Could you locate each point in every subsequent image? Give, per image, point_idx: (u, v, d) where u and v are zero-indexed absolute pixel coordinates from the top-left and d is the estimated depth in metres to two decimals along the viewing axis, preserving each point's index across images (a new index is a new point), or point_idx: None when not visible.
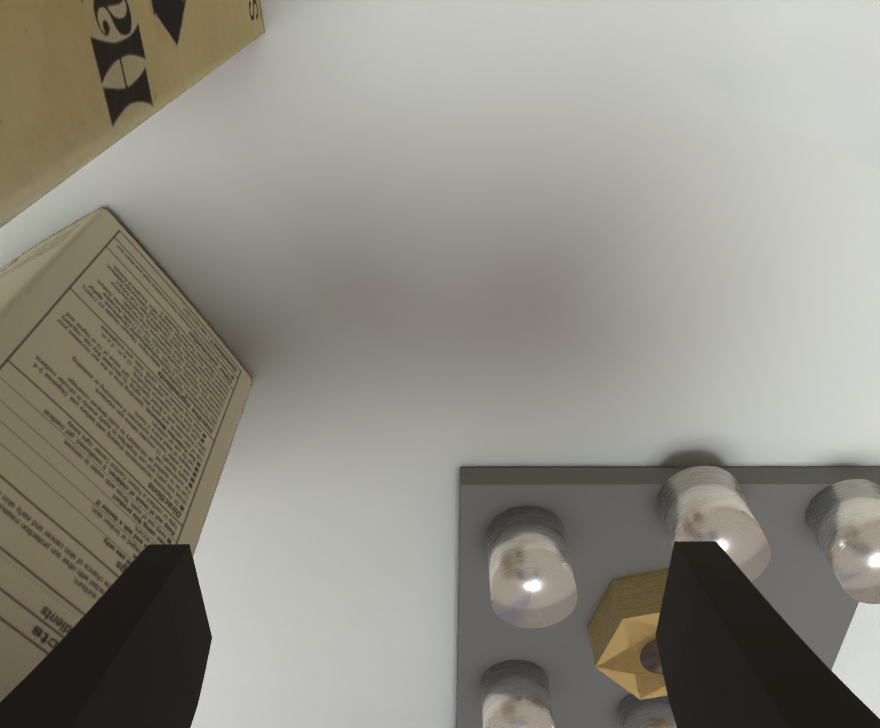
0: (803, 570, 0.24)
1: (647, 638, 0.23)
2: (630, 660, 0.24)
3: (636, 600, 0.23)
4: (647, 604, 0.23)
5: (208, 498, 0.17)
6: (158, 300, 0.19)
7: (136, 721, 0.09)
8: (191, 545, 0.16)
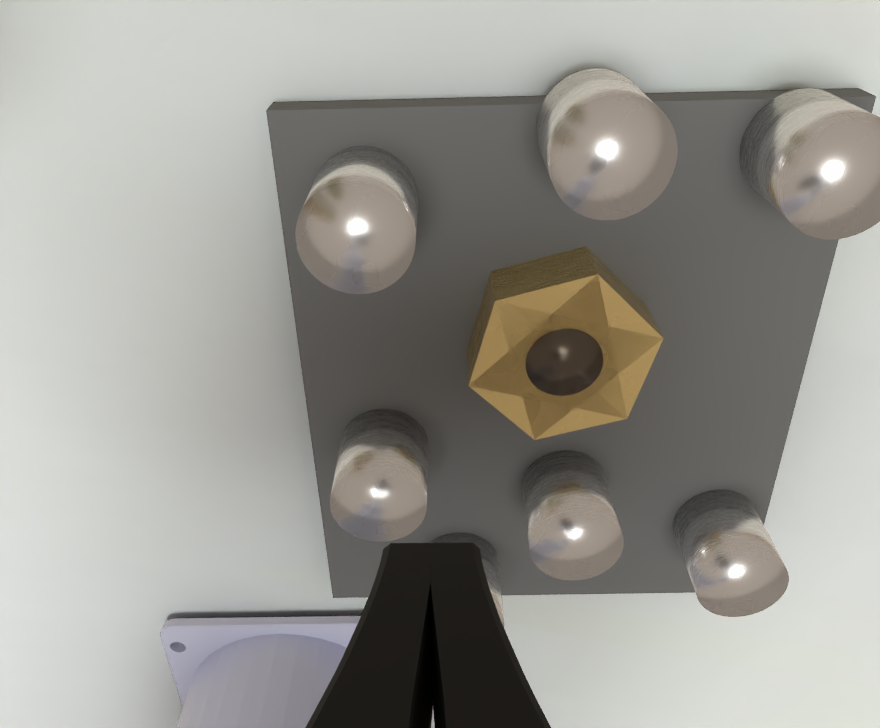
0: (744, 252, 0.18)
1: (532, 334, 0.17)
2: (513, 372, 0.18)
3: (516, 283, 0.17)
4: (529, 284, 0.17)
5: None
6: None
7: (420, 719, 0.09)
8: None
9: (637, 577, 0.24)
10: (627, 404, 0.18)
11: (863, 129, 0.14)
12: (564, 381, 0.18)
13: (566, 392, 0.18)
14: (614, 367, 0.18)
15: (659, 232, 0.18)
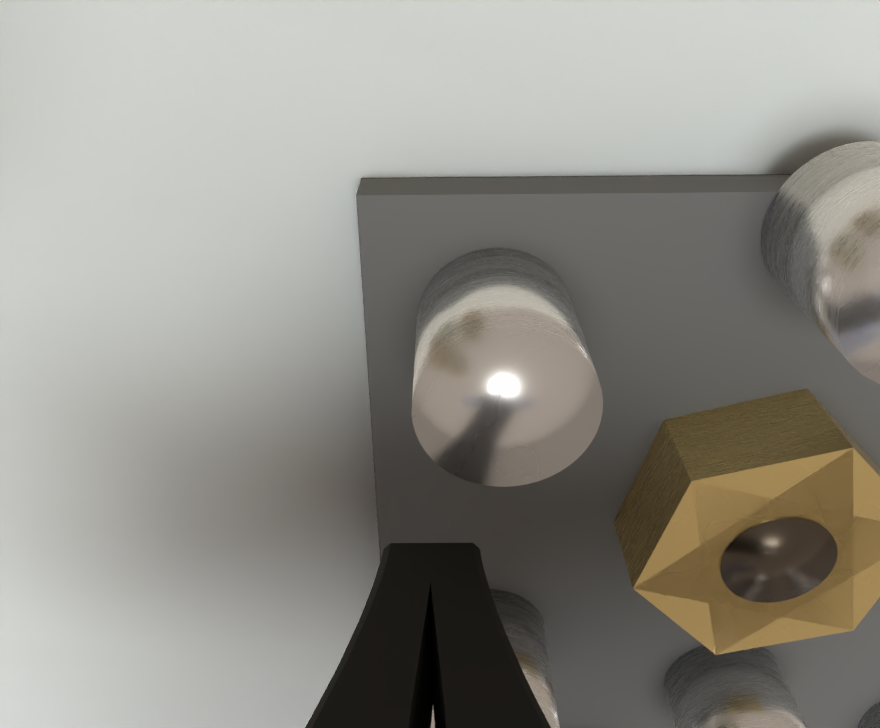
0: None
1: (739, 524, 0.12)
2: (702, 573, 0.12)
3: (716, 449, 0.12)
4: (739, 454, 0.12)
5: None
6: None
7: (420, 719, 0.09)
8: None
9: None
10: (857, 613, 0.13)
11: None
12: (774, 585, 0.12)
13: (774, 599, 0.13)
14: (850, 568, 0.12)
15: None
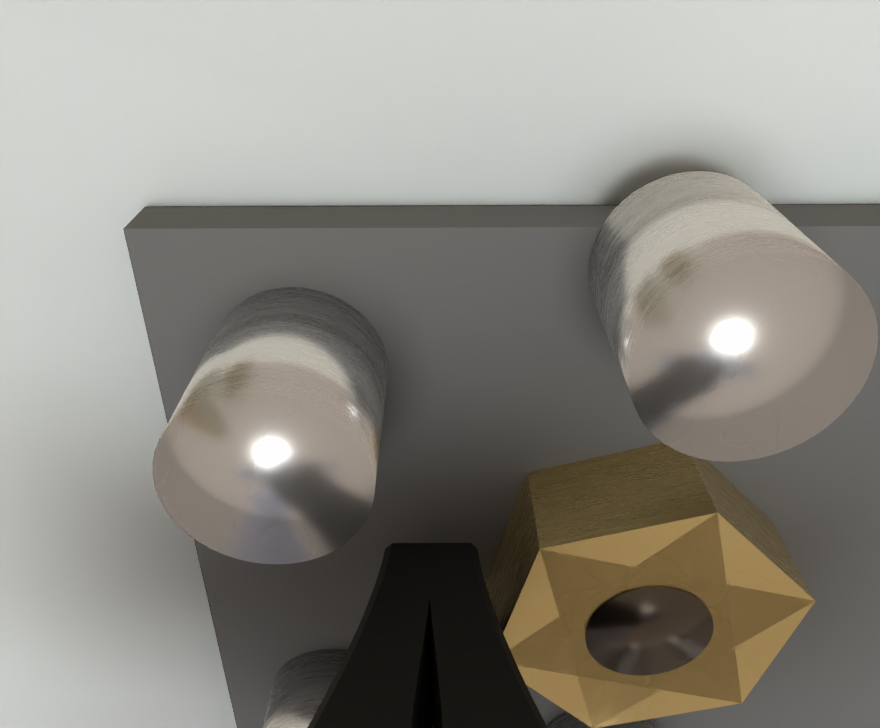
0: None
1: (600, 594, 0.10)
2: (565, 645, 0.11)
3: (573, 511, 0.10)
4: (597, 517, 0.10)
5: None
6: None
7: (422, 719, 0.09)
8: None
9: None
10: (744, 685, 0.12)
11: None
12: (647, 657, 0.11)
13: (650, 671, 0.11)
14: (730, 639, 0.11)
15: None
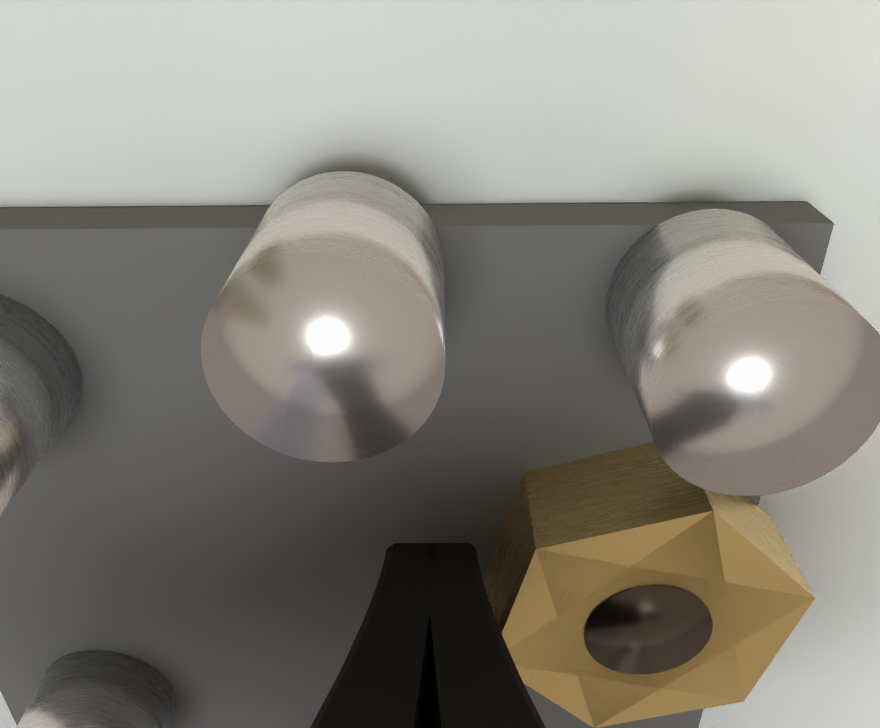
0: None
1: (597, 593, 0.10)
2: (564, 645, 0.11)
3: (570, 511, 0.10)
4: (593, 516, 0.10)
5: None
6: None
7: (424, 719, 0.09)
8: None
9: None
10: (745, 683, 0.11)
11: (797, 321, 0.07)
12: (646, 656, 0.11)
13: (649, 670, 0.11)
14: (729, 637, 0.11)
15: (486, 423, 0.11)
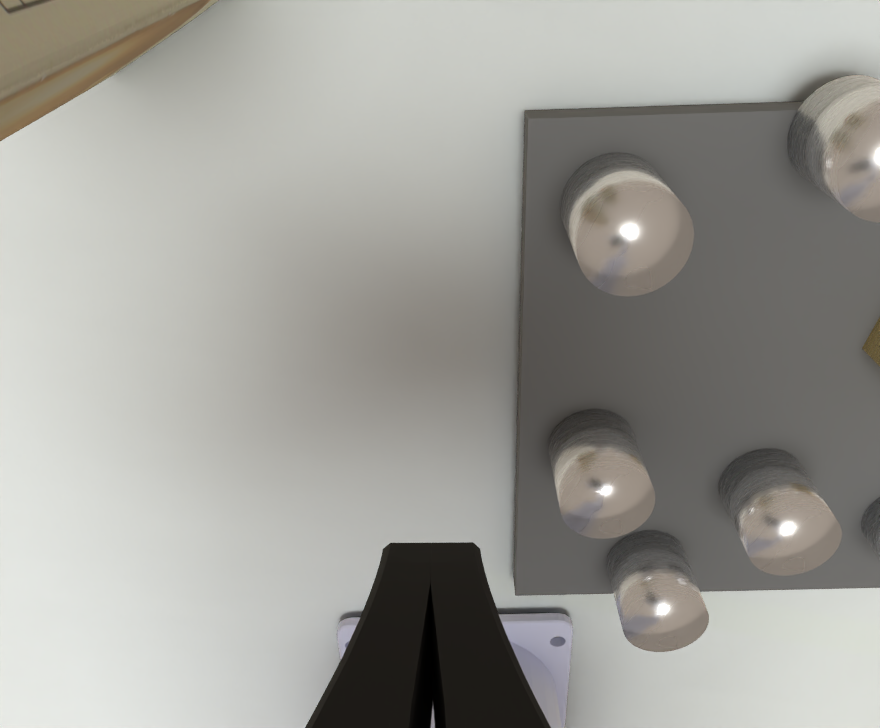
0: None
1: None
2: None
3: None
4: None
5: None
6: None
7: (420, 719, 0.09)
8: None
9: (818, 573, 0.24)
10: None
11: None
12: None
13: None
14: None
15: None
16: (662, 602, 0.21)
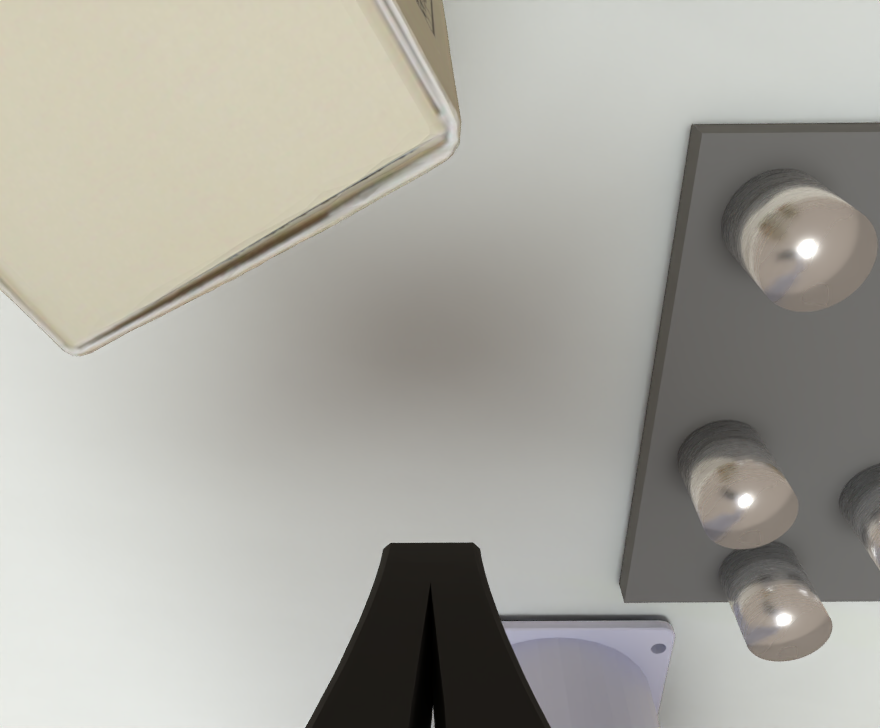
0: None
1: None
2: None
3: None
4: None
5: (441, 0, 0.12)
6: None
7: (420, 720, 0.09)
8: (443, 13, 0.11)
9: None
10: None
11: None
12: None
13: None
14: None
15: None
16: (788, 612, 0.21)
